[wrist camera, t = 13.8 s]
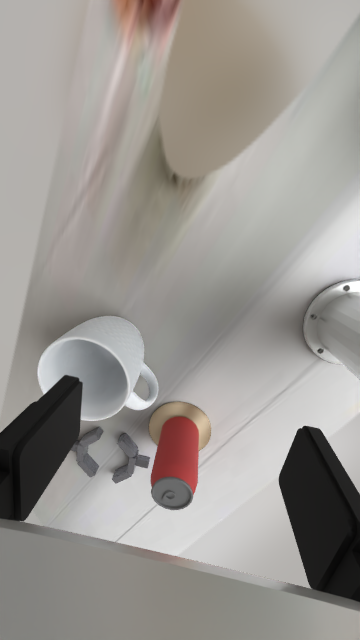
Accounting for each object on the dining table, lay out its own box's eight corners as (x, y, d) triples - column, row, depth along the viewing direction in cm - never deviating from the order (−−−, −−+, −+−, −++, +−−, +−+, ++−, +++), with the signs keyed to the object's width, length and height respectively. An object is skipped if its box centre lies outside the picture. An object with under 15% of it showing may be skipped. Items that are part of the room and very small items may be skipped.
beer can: (154, 430, 45) (137, 494, 34) (177, 407, 43) (167, 467, 32) (183, 451, 46) (175, 520, 35) (206, 429, 44) (207, 495, 33)
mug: (184, 354, 41) (175, 404, 28) (141, 395, 44) (116, 456, 32) (113, 291, 39) (70, 315, 26) (73, 338, 42) (18, 380, 30)
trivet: (217, 409, 43) (217, 412, 43) (203, 458, 47) (203, 461, 46) (154, 395, 44) (154, 397, 43) (145, 444, 47) (144, 447, 47)
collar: (153, 439, 47) (151, 447, 45) (145, 480, 50) (142, 490, 48) (71, 420, 47) (66, 427, 45) (68, 462, 50) (63, 471, 48)
